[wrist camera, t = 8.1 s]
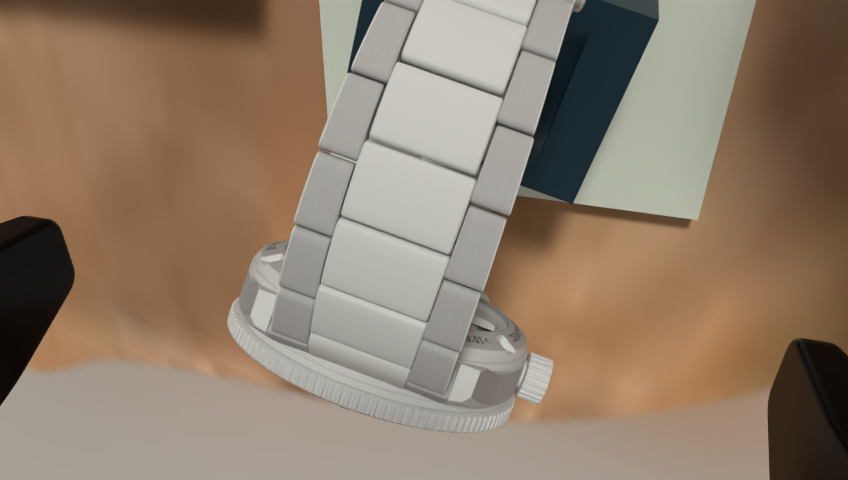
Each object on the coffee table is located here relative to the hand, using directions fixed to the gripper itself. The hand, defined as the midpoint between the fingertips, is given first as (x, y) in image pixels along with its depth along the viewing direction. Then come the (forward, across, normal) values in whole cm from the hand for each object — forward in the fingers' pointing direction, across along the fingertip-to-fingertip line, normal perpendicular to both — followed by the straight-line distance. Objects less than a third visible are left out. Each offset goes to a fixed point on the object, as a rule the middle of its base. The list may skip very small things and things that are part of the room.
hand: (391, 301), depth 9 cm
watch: (+11, 0, 0) cm, 11 cm away
